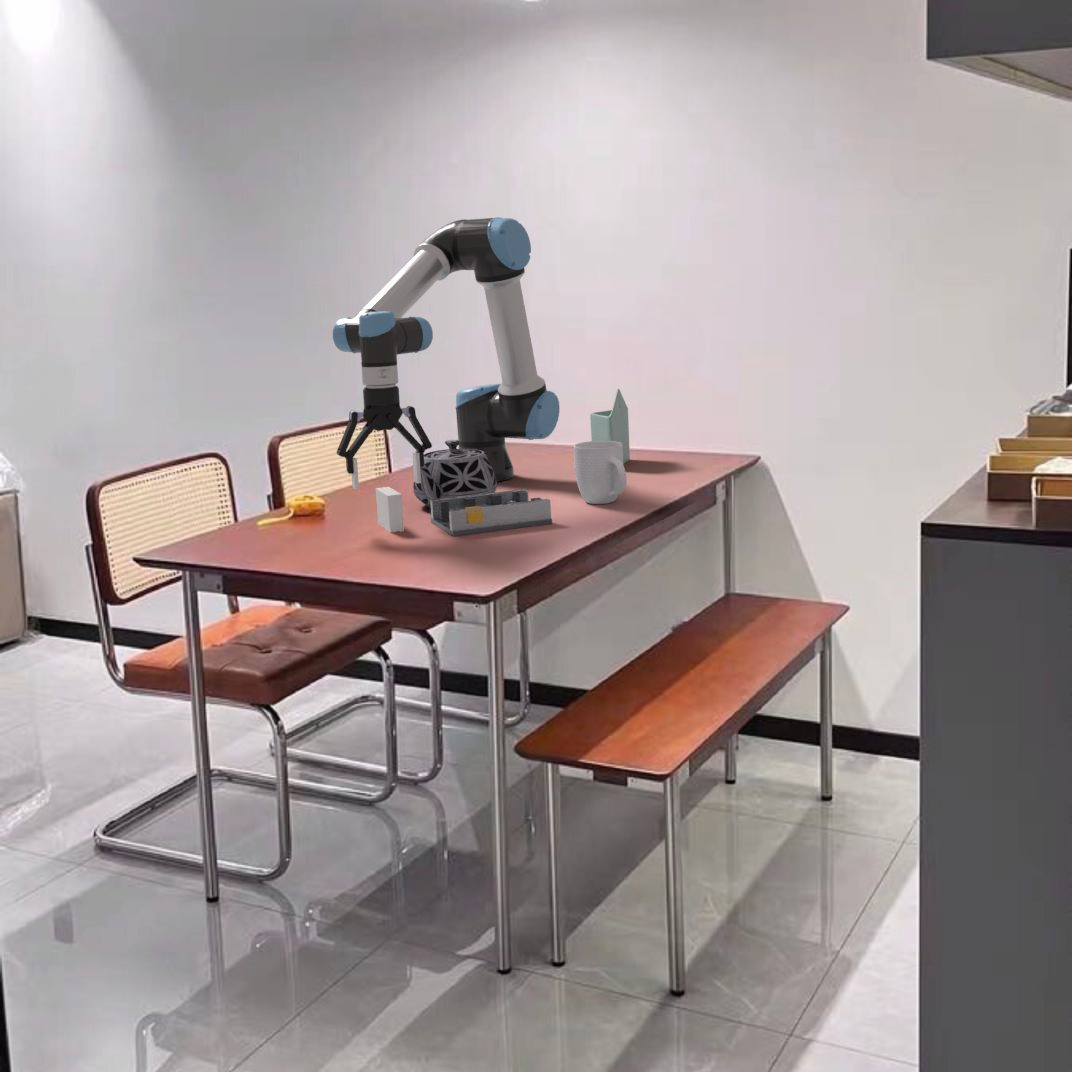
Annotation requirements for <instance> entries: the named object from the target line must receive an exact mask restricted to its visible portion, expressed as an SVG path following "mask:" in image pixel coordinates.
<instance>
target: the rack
mask: <svg viewBox="0 0 1072 1072" xmlns="http://www.w3.org/2000/svg"><path fill="white" fill-rule="evenodd" d="M529 499H530V500H529ZM430 504H431V508H430V523H431V524H433V525H435V526H436V527H437V528H439V529H441V530H443V531H444V532H446V533H447V534H449V535H451V536H452V537H458V536H459V537H460V536H465V535H473V534H474V535H475V534H481V533H482V534H483V533H490V532H498V531H503V530H504V531H505V530H512V529H521V528H528V527H535V526H536V527H537V526H544V525H551V524H553V519H552V509H551V508H552V507H551V504H552V503H551V499H548V498H546V499H543V498H541V497H534V498H529V490H528V489H527V488H522V489H514V490H506V491H497V492H496V491H495V493H487V494H478V495H470V496H461V497H453V498H444V499H436V500H430Z"/></svg>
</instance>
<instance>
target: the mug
mask: <svg viewBox="0 0 1072 1072" xmlns="http://www.w3.org/2000/svg"><path fill="white" fill-rule="evenodd" d="M573 457H574V458H573V461H574V473H575V474H574V475H575V479H576V484H577V487H578V490H579V492H580V495H581V497H582V499H583V500H584V502H586V503H587V504H590V505H604V504H611V503H614V502H615V501H616V499H617V498H618V496H620V495H621V494H623V493H624V491H626V487H627V473H626V469H625V466H624V464H623V447H622V443H620V442H616V441H592V440H590V441H589V440H588V441H584V442H579V443H575V444H574V445H573Z"/></svg>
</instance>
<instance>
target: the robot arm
mask: <svg viewBox="0 0 1072 1072" xmlns="http://www.w3.org/2000/svg"><path fill="white" fill-rule="evenodd" d="M531 253H532V246H531V241H530V237H529V235H528V232H527V230H526V228H525V227H524V226H523V225H522V223H520V222H519V221H518V220H516V219H514V218H510V217H509V218H508V217H507V218H506V217H505V218H504V217H489V218H485V217H484V218H475V219H471V218H470V219H458V220H455V221H452V222H451V221H450V222H449V223H447V224H445V225H443V226H441V227H440V228H438V229H437V230H435V231H434V232H433V233H432V234H430V235H428V237H426V238H424V240H422V242H421V243H420V244H419V245H418V246H417V247H416V248H415V250H414V252H413V257H412V258H411V259H410V260H409V261H408V262H407V263H406V264H404V266H403V267H402V268H401V269H400V270H399V271H398V272H397V274H395V275H394V276H393V277H392V278H391V279H390V280H389V282H387V283H386V284H385V285H384V286H383V288H381V290H379V292H378V293H377V294H375V296H374V297H373V298H371V299H370V301H368V302H367V304H365V305H364V306H363V308H362V309H361V310H360V311H358V313H356V315H354V316H353V317H351V316H347V317H345V318H344V317H343V318H339V319H338V320H337V321H336V322H335V323H334V325H333V328H332V340H333V342H334V345H335V347H336V348H337V349H338V350H339V351H341V352H343V353H353V354H360V356H361V362H360V363H361V379H362V385H363V386H365V387H364V388H363V389H362V395H363V411H355V410H350V411H349V413H348V414H349V416H348V418H349V419H348V423H347V425H346V427H345V430H344V433H343V435H342V438H341V440H340V442H339V445H338V447H337V450H336V454H337V455H338V456H340V457H341V458H345V464H346V471H347V474H349V475H351V483H352V484H351V488H352V489H354V490H355V491H357V490H359V489H360V482H359V468H358V458H356V457H355V455H356V454H357V452H358V451H359V450H360V448H361V447H362V446H363V444H364V443H365V441H366V440H367V438H368V437H369V436H370V435H371V434H372V433H373V431H377V432H380V431H381V432H382V431H384V430H386V431H390V430H393V429H395V430H396V431H397V432H398V433H400V435H401V436H402V437H403V438H404V439H405V440H406V441H407V442H408V443H409V445H411V446H412V448H413V449H415V450H416V451H415V450H414V451H412V466H413V467H412V469H413V483H414V482H416V483H421V474H420V467H424V454H425V451H426V450H428V449H429V450H430V449H431V448H432V447H433V444H432V442H431V441H430V439H429V437H428V435H427V433H426V432H425V430H424V428H423V426H422V425H421V424H420V420H419V418H417V414H416V409H415V407H414V406H411V405H407V406H406V407H403V408H401V406H400V405H401V404H400V401H401V400H400V388H399V386H398V385H397V384H398V383H399V372H398V355H404V354H412V353H415V354H418V353H419V352H422V351H425V350H427V349H428V348H429V347H430V346H431V344H432V341H433V337H434V334H433V327H432V326H431V324H430V322H429V321H428V320H427V319H426V318H424V317H421V316H408V317H404V316H405V314H407V312H408V311H409V310H410V309H412V307H413V306H414V305H415V304H416V303H417V302H418V301H419V300H420V299H421V298H422V297H423V296H424V295H425V294H426V293H427V292H428V291H429V290H430V288H431V287H432V286H433V285H434V284H435V283H436V282H438V281H442V280H445V279H446V278H448V276H449V275H450V274H452V273H454V272H459V271H473V272H474V276H475V277H474V278H475V281H476V283H478V284H479V285H480V286H482V287H483V290H484V293H485V298H486V299H485V300H486V305H487V308H488V314H489V319H490V324H491V325H490V326H491V330H492V334H493V335H492V336H493V341H494V345H495V351H496V355H497V360H498V365H499V371H500V375H501V383H493V384H491V383H490V384H485V385H483V384H482V385H479V386H473V387H468V388H463V389H460V390H458V391H457V393H456V395H455V411H456V412H455V413H456V425H457V426H456V427H457V440H459V441H460V443H459V445H458V449H476V450H481V451H483V452H485V453H486V454H487V459H488V461H489V463H490V464H491V466H492V469H493V471H494V473H495V476H496V480H497V482H502V481H506V480H507V481H508V480H511V479H512V478H514V476H515V475H514V474H515V473H514V472H515V471H514V465H513V463H512V460H511V459H510V455H509V453H508V451H507V448H506V439H517V440H518V439H519V440H521V439H523V440H528V441H533V440H543V439H546V438H548V437H550V435H552V433H553V432H554V430H555V429H556V427H557V424H558V421H559V417H560V401H559V398H558V396H557V394H556V393H555V392H554V391H551V390H548V389H547V386H546V381H545V379H544V378H542V377H541V376H539V374H538V371H537V366H536V361H535V355H534V349H533V345H532V339H531V334H530V333H531V332H530V329H529V328H530V327H529V323H528V317H527V313H526V306H525V301H524V295H523V290H522V285H521V279H522V277H523V276H524V275H525V273H526V271H525V267H526V266H527V265H528V264H529V262H530V260H531V255H530V254H531ZM402 415H404V416H405V417H406V418H408V421H409V423H410V424H411V427H413V429H414V431H415V433H416V435H417V437H418V438H419V440H420V442H421V443H420V442H419V441H418V440H417V439H416V438H415V437H414V436H413V435H412V434H411V433H410V432H409V431H408V430H407V428H405V426H404V425H403V424H402V423H401V422H400V419H401V417H402ZM362 418H363V419H364V420H365V422H366V423H365V424H364V426H362V429H361V431H360V432H359V434H358V435H357V436H356V438H355V439H354V441H352V443H351V440H352V438H353V436H354V433H355V430H356V427H357V426H358V423H359V422H360V421H361V419H362ZM350 443H351V444H350ZM349 445H350V446H349Z"/></svg>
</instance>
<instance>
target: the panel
mask: <svg viewBox="0 0 1072 1072" xmlns="http://www.w3.org/2000/svg"><path fill="white" fill-rule="evenodd" d="M375 498H376V511H377V512H376V513H377V524H378V526H380V525H381V526H382V527H381V526H380V527H381V528H383V527H384V528H385V530H386V531H387V530H388V531H387V532H389V533H390V532H392V533H397V532H396V531H400V532H405V528H404V515H403V514H404V513H403V498H402V493H400V492H399V491H397V490H395V489H393V488H391V487H390V486H386V487H385V486H384V487H375ZM384 528H383V529H384Z"/></svg>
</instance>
